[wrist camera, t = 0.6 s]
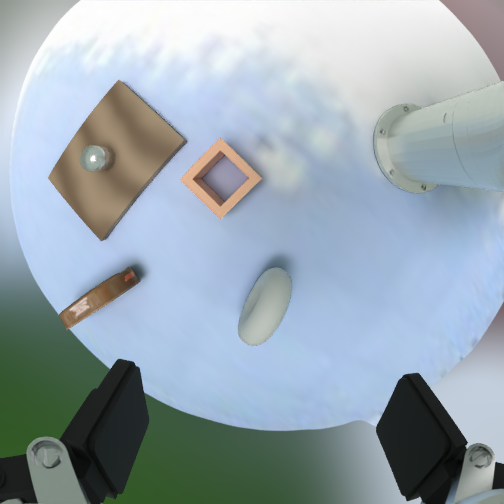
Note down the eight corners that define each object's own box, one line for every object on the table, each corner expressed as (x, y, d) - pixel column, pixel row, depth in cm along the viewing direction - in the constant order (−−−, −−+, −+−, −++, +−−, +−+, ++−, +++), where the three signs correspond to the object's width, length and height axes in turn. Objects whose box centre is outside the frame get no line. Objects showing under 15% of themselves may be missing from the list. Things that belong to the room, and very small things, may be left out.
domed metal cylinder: (105, 142, 32) (90, 140, 28) (119, 157, 33) (104, 155, 29) (92, 160, 33) (76, 160, 29) (105, 175, 33) (90, 176, 30)
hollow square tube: (225, 143, 34) (220, 137, 29) (261, 178, 35) (262, 178, 30) (190, 179, 35) (179, 179, 30) (225, 213, 36) (220, 219, 31)
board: (123, 82, 31) (118, 79, 30) (187, 141, 34) (184, 140, 32) (53, 177, 35) (47, 177, 33) (106, 238, 37) (101, 241, 36)
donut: (257, 324, 40) (257, 366, 30) (235, 314, 40) (229, 354, 30) (292, 264, 38) (303, 294, 28) (269, 253, 37) (272, 279, 28)
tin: (86, 315, 41) (60, 339, 33) (76, 299, 40) (48, 321, 32) (149, 275, 39) (125, 299, 30) (137, 256, 38) (110, 276, 30)
